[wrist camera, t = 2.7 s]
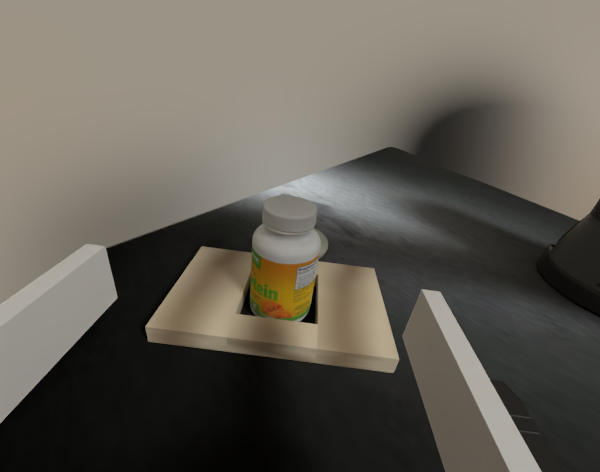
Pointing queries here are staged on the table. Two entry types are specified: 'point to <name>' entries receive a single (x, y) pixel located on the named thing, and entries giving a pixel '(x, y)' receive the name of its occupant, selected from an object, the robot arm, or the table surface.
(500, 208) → the table surface
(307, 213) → the supplement bottle
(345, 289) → the socket plate
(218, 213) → the table surface
